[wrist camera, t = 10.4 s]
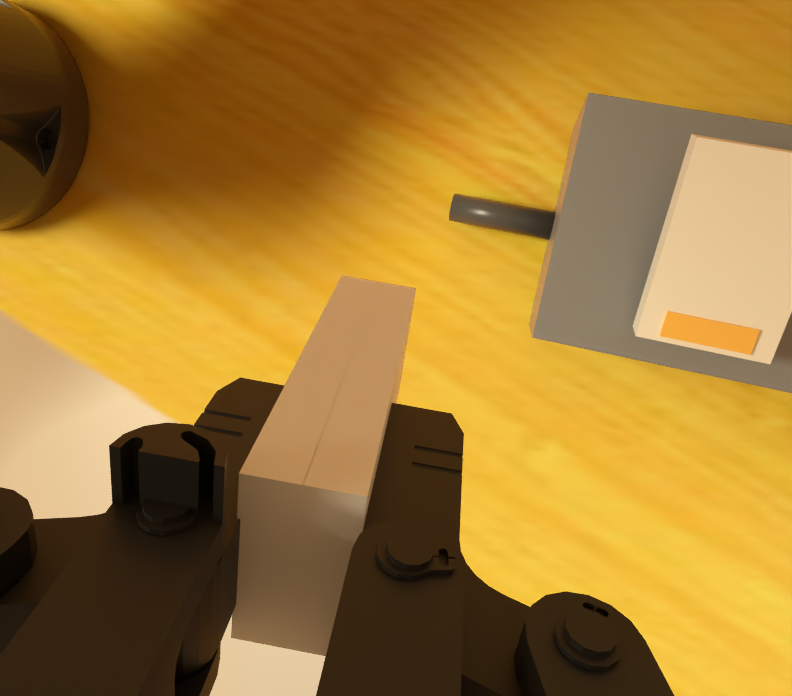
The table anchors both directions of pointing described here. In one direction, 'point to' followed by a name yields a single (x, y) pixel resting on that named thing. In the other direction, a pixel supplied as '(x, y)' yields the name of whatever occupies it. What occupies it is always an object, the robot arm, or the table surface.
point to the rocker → (724, 253)
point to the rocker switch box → (623, 231)
